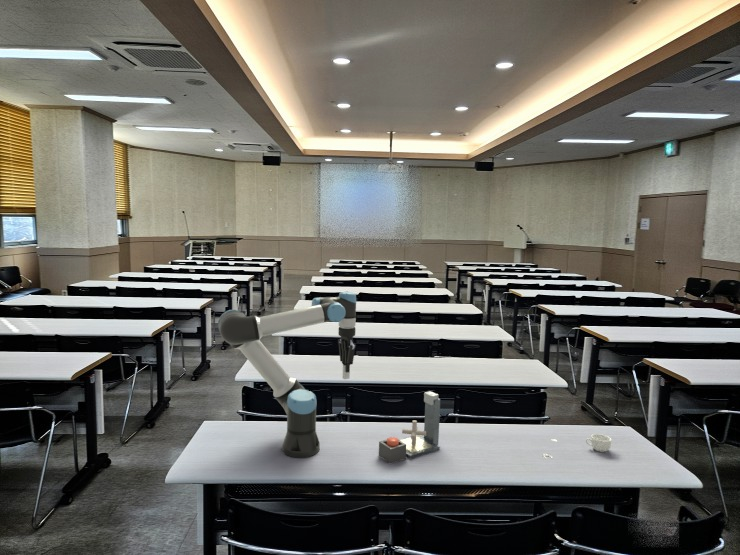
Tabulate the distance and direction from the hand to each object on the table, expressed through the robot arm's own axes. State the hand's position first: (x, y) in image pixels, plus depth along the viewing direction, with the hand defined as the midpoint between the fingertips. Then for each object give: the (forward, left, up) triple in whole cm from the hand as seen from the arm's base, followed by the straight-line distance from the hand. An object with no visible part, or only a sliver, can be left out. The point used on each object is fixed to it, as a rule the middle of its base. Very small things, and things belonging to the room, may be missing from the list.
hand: (346, 378), depth 218 cm
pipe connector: (+15, -30, -22) cm, 41 cm away
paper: (+62, -63, -25) cm, 92 cm away
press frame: (+17, -30, -24) cm, 42 cm away
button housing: (+2, -32, -24) cm, 40 cm away
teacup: (+82, -72, -24) cm, 112 cm away
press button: (+2, -32, -20) cm, 38 cm away
